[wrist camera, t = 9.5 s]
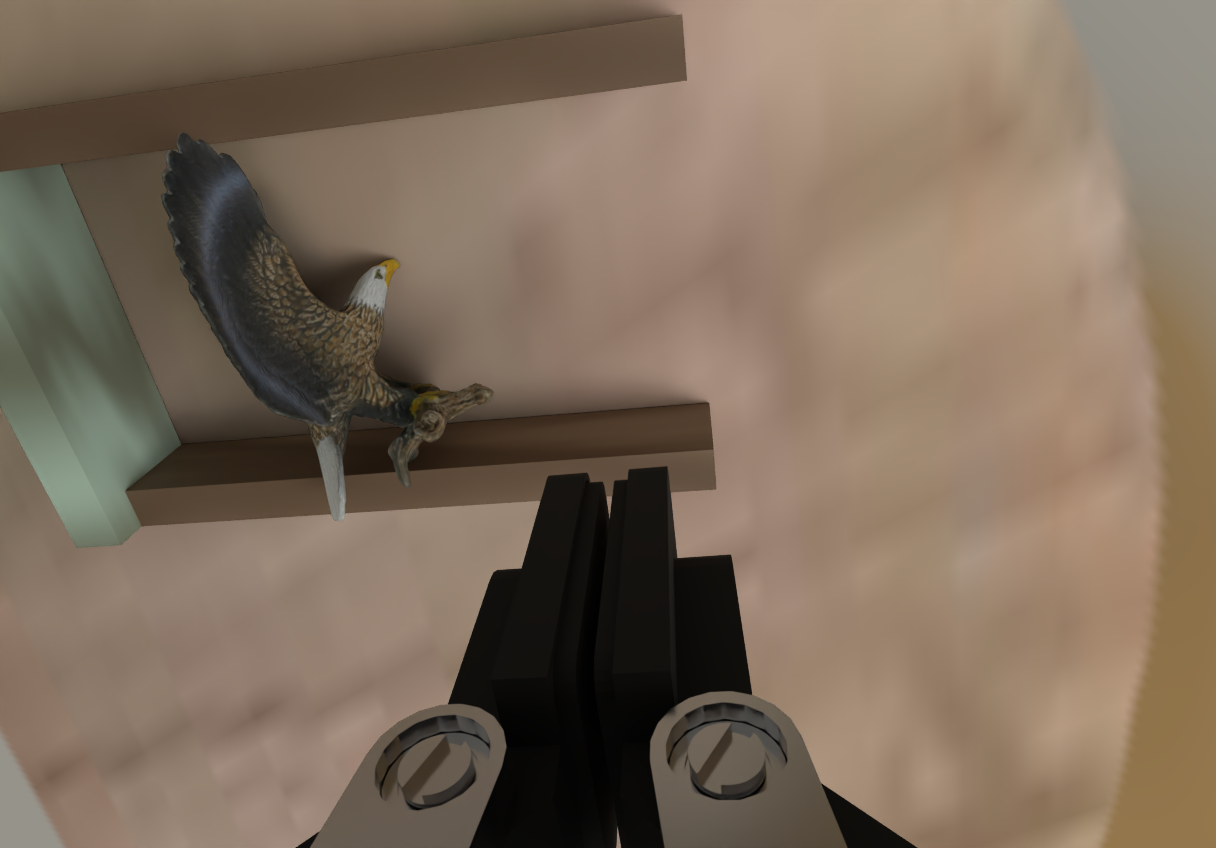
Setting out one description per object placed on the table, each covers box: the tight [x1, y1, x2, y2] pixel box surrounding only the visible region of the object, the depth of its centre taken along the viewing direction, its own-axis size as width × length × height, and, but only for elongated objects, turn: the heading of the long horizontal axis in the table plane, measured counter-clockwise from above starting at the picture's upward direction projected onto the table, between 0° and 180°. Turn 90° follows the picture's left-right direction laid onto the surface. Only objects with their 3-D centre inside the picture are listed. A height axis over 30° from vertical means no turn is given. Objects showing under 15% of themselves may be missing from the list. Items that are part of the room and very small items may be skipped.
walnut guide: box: [0, 14, 716, 548], centre depth 21 cm, size 12×20×4 cm, turn 97°
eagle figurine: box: [161, 132, 494, 521], centre depth 20 cm, size 8×7×9 cm
